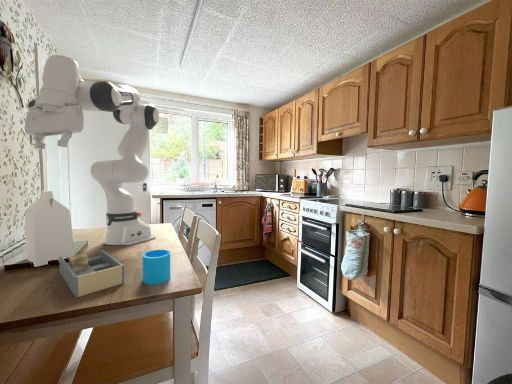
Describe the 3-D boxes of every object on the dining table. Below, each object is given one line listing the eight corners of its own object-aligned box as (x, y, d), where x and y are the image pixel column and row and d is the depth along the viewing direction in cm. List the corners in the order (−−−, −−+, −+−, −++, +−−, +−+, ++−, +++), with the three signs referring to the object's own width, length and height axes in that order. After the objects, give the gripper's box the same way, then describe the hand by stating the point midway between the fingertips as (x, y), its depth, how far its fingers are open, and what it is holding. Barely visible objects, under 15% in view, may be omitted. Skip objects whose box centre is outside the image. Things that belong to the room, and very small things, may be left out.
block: (84, 265, 78) (84, 253, 77) (88, 268, 75) (87, 256, 75) (69, 268, 75) (69, 256, 74) (72, 272, 72) (72, 259, 72)
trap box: (101, 263, 87) (101, 248, 87) (124, 282, 72) (123, 265, 72) (59, 273, 78) (59, 256, 78) (75, 297, 64) (75, 277, 63)
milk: (74, 257, 92) (72, 191, 90) (35, 266, 83) (31, 192, 81) (62, 251, 99) (60, 189, 97) (25, 259, 89) (21, 190, 87)
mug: (172, 281, 75) (172, 255, 74) (143, 286, 71) (143, 259, 70) (166, 267, 85) (166, 245, 84) (141, 271, 81) (140, 248, 80)
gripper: (92, 106, 75) (86, 148, 73) (45, 113, 80) (39, 152, 78) (71, 95, 69) (65, 141, 67) (23, 104, 74) (15, 146, 72)
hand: (50, 147), depth 73 cm, fingers open, 8 cm apart
